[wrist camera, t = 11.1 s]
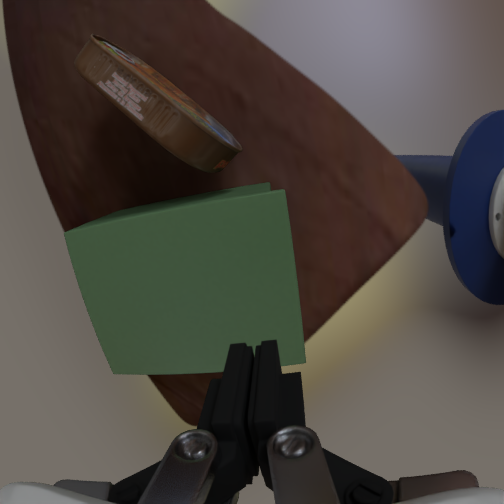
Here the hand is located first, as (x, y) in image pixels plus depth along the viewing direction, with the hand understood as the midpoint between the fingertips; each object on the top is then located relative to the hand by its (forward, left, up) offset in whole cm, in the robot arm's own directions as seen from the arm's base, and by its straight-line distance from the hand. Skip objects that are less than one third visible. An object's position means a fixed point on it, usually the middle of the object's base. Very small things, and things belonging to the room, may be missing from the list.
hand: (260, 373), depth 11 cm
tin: (+6, -14, -16) cm, 22 cm away
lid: (+5, 0, -8) cm, 10 cm away
